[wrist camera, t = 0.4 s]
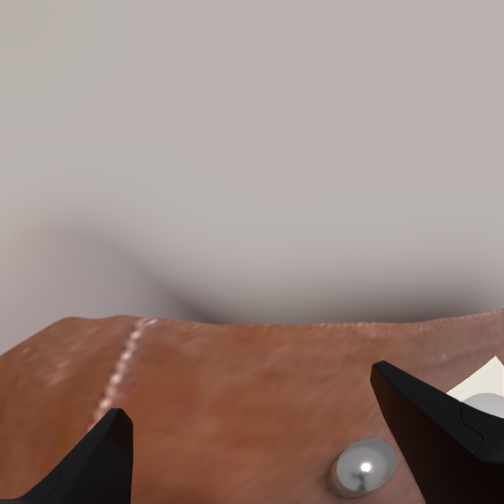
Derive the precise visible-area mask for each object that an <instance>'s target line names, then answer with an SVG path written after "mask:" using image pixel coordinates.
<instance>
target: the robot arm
mask: <svg viewBox="0 0 504 504" xmlns="http://www.w3.org/2000/svg"><path fill="white" fill-rule="evenodd" d="M370 382H371V385H372V388H373V390H374V393H375V396H376V398H377V401H378V403H379V406H380V409H381V411H382V414H383V417H384V419H385V421H386V423H387V425H388V427H389V429H390V430H391V432H392V434H393V436H394V438H395V440H396V442H397V444H398V446H399V448H400V450H401V452H402V454H403V456H404V458H405V460H406V462H407V464H408V466H409V468H410V470H411V472H412V474H413V476H414V478H415V480H416V482H417V484H418V486H419V488H420V490H421V492H422V495H423V497H424V498H425V501H426V503H427V504H504V418H501V417H498V416H495V415H492V414H489V413H486V412H484V411H481V410H479V409H476V408H474V407H472V406H470V405H468V404H466V403H464V402H462V401H459V400H458V399H456V398H454V397H452V396H450V395H448V394H446V393H444V392H442V391H440V390H438V389H436V388H435V387H433V386H431V385H429V384H427V383H425V382H423V381H421V380H419V379H418V378H416V377H414V376H412V375H410V374H408V373H406V372H405V371H403V370H401V369H399V368H397V367H395V366H394V365H392V364H390V363H388V362H386V361H384V360H382V361H379V362H376V363H374V364H373V365H372V370H371V377H370ZM132 470H133V423H132V420H131V419H130V418H129V417H128V415H127V414H126V413H125V412H124V410H123V409H121V408H111V409H110V410H109V411H108V412H107V413H106V414H105V415H104V416H103V417H102V418H101V420H100V421H99V422H98V423H97V424H96V425H95V426H94V427H93V428H92V429H91V430H90V431H89V432H88V433H87V434H86V435H85V436H84V438H83V439H82V440H81V441H80V442H79V443H78V444H77V445H76V446H75V447H74V448H73V449H72V450H71V451H70V452H69V453H68V454H67V455H66V456H65V457H64V459H63V460H62V461H61V462H60V463H59V464H58V465H57V466H56V467H55V468H54V469H53V470H52V471H51V472H50V473H49V474H48V475H47V476H46V477H45V478H44V479H42V480H41V481H40V482H39V483H38V484H37V485H35V486H34V487H33V488H32V489H30V490H29V491H28V492H27V493H26V494H24V495H23V496H21V497H19V498H16V499H0V504H131V484H132Z"/></svg>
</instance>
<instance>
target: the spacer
mask: <svg viewBox="0 0 504 504" xmlns="http://www.w3.org/2000/svg"><path fill="white" fill-rule="evenodd" d="M396 466H397V457H396V453H395V451H394V449H393V448H392V447H391V446H390V445H389V444H388V443H386V442H385V441H383V440H380V439H375V438H367V439H362V440H359V441H356V442H354V443H353V444H351V445H350V446H348V447H347V448H346V449H345V451H344V452H343V453H342V454H341V456H340V457H339V458H338V459H337V461H336V462H335V463H334V464H333V465H332V467H331V468H330V470H329V473H328V484H329V487H330V489H331V490H332V491H333V492H334V493H335V494H337V495H338V496H341V497H344V498H355V497H359V496H362V495H364V494H366V493H369V492H371V491H373V490H375V489H377V488H379V487H381V486H383V485H384V484H386V483H387V482H388V481H389V480H390V479H391V477H392V476H393V474H394V472H395V470H396Z"/></svg>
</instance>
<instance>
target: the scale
mask: <svg viewBox="0 0 504 504" xmlns="http://www.w3.org/2000/svg"><path fill="white" fill-rule="evenodd" d="M446 394H448V395H450V396H452V397H454V398H456V399H458V400H459V401H462V402H464V403H466V404H468V405H470V406H472V407H474V408H476V409H479V410H481V411H484V412H486V413H489V414H492V415H495V416H498V417H501V418H504V366H503V365H502V363H501V362H500V361H499V360H498V358H497V357H496V356H495V357H494V358H493V359H491V360H490V361H489V362H488V363H487V364H485V365H484V366H483V367H482V368H480V369H479V370H478V371H477V372H475V373H474V374H473V375H471V376H470V377H469V378H467V379H466V380H465V381H463V382H462V383H460V384H459V385H458V386H456V387H455V388H453V389H452V390H450V391H449V392H447V393H446Z"/></svg>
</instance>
